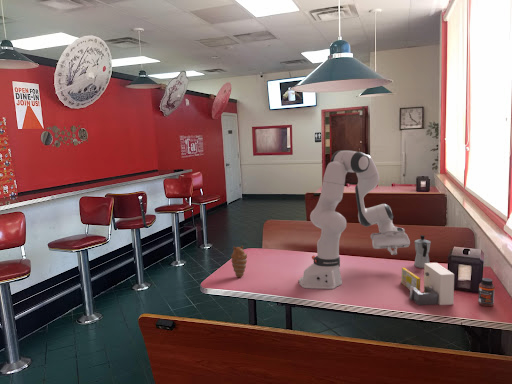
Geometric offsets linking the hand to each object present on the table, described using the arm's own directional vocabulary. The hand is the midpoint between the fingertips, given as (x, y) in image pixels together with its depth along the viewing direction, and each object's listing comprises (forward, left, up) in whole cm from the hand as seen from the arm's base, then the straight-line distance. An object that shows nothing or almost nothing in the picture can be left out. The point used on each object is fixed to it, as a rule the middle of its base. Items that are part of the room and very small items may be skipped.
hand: (394, 254), depth 213 cm
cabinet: (+8, -34, -11) cm, 36 cm away
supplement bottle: (+25, -42, -11) cm, 51 cm away
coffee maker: (+20, +9, -11) cm, 25 cm away
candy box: (0, -21, -11) cm, 24 cm away
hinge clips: (0, -35, -11) cm, 37 cm away
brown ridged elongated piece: (-85, +6, -11) cm, 86 cm away
